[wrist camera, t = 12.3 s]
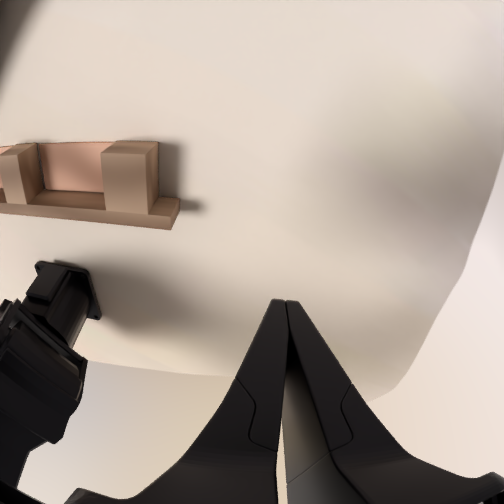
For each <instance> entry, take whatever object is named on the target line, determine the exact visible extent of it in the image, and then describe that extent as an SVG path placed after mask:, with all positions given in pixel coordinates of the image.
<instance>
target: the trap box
mask: <svg viewBox="0 0 504 504" xmlns="http://www.w3.org/2000/svg"><path fill="white" fill-rule="evenodd" d="M39 149H40V157H41V163H42V170H43V176H44V182H45V187H46V189H44V187H43V182H42V176H41V170H40V164H39V157H38V150H37V143H28V144H16V145H15V146H6V147H0V213H4V214H15V215H26V216H36V217H47V218H57V219H68V220H78V221H88V222H98V223H107V224H117V225H127V226H136V227H146V228H155V229H164V230H171V229H172V226H173V224H174V222H175V220H176V218H177V216H178V213H179V211H180V199H179V198H168V197H159V176H158V142H147V141H116V142H72V143H47V144H39Z"/></svg>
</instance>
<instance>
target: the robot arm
mask: <svg viewBox="0 0 504 504" xmlns="http://www.w3.org/2000/svg"><path fill="white" fill-rule="evenodd" d="M35 269H36V272H37V275H38V276H37V277H36V279H35V280H34V282H33V283H32V284H31V286H30V287H29V289H28V290H27V292H26V295H27V296H26V297H25V299H24V300H23V302H22V304H21V301H20V300H19V299H18V298H17V299H16V300H15V301H14V302H12V301H9V300H7V299H4V301H3V302H2V303H1V305H0V504H45V503H43V502H41V501H39V500H37V499H35V498H33V497H31V496H29V495H27V494H25V493H23V492H21V491H20V490H18V489H17V486H18V483H19V480H20V477H21V474H22V471H23V468H24V465H25V463H26V459H27V457H28V455H29V453H30V451H32V450H34V449H35V448H37V447H39V446H40V445H42V444H44V443H46V442H47V441H48V442H50V443H52V444H56V443H57V442H58V441H59V440H60V439H62V438H63V435H64V432H65V429H66V426H67V423H68V420H69V418H70V416H71V415H72V414H73V413H74V412H75V410H76V409H77V407H78V405H79V403H80V401H81V398H82V394H83V387H84V381H85V374H86V368H87V363H88V360H87V359H86V358H84V357H82V356H80V355H79V354H78V353H77V352H75V351H74V350H73V349H72V348H73V346H74V344H75V342H76V340H77V337H78V335H79V333H80V331H81V329H82V327H83V325H84V323H85V321H86V318H90V319H94V320H100V318H101V312H100V309H99V306H98V302H97V299H96V296H95V293H94V289H93V286H92V282H91V279H90V275H89V273H88V271H86V270H84V269H78V268H72V267H67V266H61V265H55V264H49V263H44V262H37V263H36V264H35ZM351 383H352V382H351V380H350V379H349V377H348V376H347V374H346V372H345V371H344V369H343V368H342V366H341V365H340V363H339V362H338V360H337V359H336V357H335V356H334V354H333V353H332V351H331V350H330V348H329V347H328V345H327V344H326V342H325V340H324V339H323V337H322V336H321V334H320V333H319V331H318V330H317V328H316V327H315V325H314V324H313V322H312V321H311V319H310V318H309V316H308V315H307V313H306V312H305V310H304V309H303V307H302V306H301V304H300V303H299V302H298V301H292V300H286V301H284V300H282V299H272V300H271V302H270V304H269V306H268V308H267V311H266V313H265V315H264V317H263V319H262V321H261V324H260V326H259V328H258V330H257V332H256V334H255V336H254V339H253V341H252V343H251V345H250V347H249V349H248V351H247V353H246V356H245V358H244V360H243V362H242V364H241V366H240V368H239V370H238V372H237V374H236V376H235V379H234V380H233V382H232V385H231V387H230V389H229V391H228V392H227V394H226V396H225V398H224V400H223V401H222V403H221V405H220V406H219V408H218V409H217V411H216V412H215V414H214V415H213V417H212V418H211V419H210V421H209V422H208V424H207V425H206V426H205V428H204V429H203V430H202V432H201V433H200V434H199V436H198V437H197V438H196V440H195V441H194V442H193V444H192V445H191V446H190V448H189V449H188V450H187V451H186V453H185V454H184V455H183V456H182V457H181V458H180V459H179V460H178V461H177V462H176V463H175V464H174V465H173V466H172V467H170V468H169V469H168V470H167V471H166V472H165V473H163V474H162V475H161V476H160V477H159V478H157V479H156V480H155V481H154V482H153V483H151V484H150V485H149V486H148V487H146V488H145V489H144V490H143V491H141V492H140V493H139V494H137V495H136V496H134V497H131V498H128V499H115V498H111V497H108V496H105V495H101V494H98V493H95V492H92V491H89V490H86V489H82V488H77V489H76V490H75V491H74V492H73V494H72V495H71V496H70V497H69V498H68V500H67V501H66V502H65V503H64V504H278V491H277V477H276V464H277V452H278V445H279V437H280V427H281V418H282V428H283V440H284V454H285V468H286V483H287V499H288V504H504V478H503V477H501V476H500V475H498V474H496V473H495V472H490V473H488V474H485V475H483V476H481V477H478V478H466V477H462V476H459V475H456V474H454V473H451V472H449V471H446V470H444V469H441V468H439V467H436V466H434V465H431V464H429V463H426V462H424V461H422V460H420V459H418V458H416V457H414V456H412V455H411V454H409V453H408V452H407V451H405V449H403V448H402V446H401V445H400V444H399V443H398V442H397V441H396V440H395V438H394V437H393V436H392V435H391V434H390V432H389V431H388V430H387V429H386V428H385V426H384V425H383V424H382V423H381V422H380V420H379V419H378V418H377V417H376V415H375V414H374V413H373V412H372V410H371V409H370V408H369V407H368V405H367V404H366V402H365V401H364V399H363V398H362V397H361V395H360V394H359V392H358V391H357V389H356V388H355V386H354V385H353V384H351Z"/></svg>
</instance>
